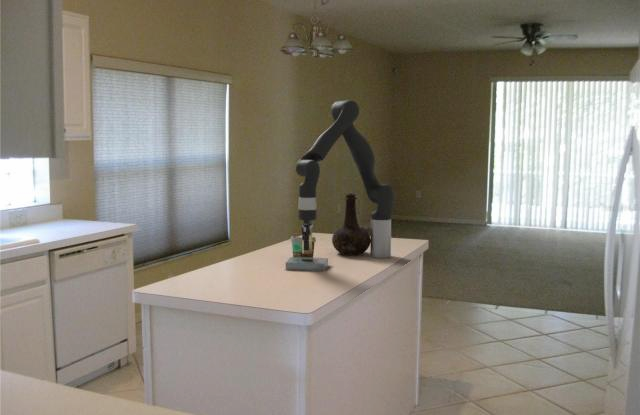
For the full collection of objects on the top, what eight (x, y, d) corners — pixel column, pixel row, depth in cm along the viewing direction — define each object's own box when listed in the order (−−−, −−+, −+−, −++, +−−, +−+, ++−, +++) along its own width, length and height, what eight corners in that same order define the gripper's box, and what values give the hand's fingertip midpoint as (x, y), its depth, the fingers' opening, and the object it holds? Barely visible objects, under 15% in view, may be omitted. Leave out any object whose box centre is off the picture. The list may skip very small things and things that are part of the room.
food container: (285, 258, 285) (285, 236, 284) (292, 256, 291) (292, 234, 289) (309, 261, 279) (309, 238, 278) (315, 259, 285) (316, 236, 284)
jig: (328, 265, 271) (328, 258, 271) (324, 270, 259) (324, 263, 259) (291, 263, 273) (291, 257, 273) (285, 269, 262) (285, 262, 261)
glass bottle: (376, 255, 294) (377, 195, 291) (341, 258, 287) (341, 196, 284) (360, 249, 310) (360, 192, 307) (326, 251, 304) (326, 193, 301)
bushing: (312, 252, 267) (312, 233, 267) (311, 254, 264) (311, 235, 263) (303, 252, 268) (303, 233, 267) (301, 253, 264) (301, 234, 263)
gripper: (313, 210, 256) (313, 252, 258) (318, 206, 270) (318, 246, 272) (295, 209, 257) (295, 251, 259) (301, 206, 271) (301, 246, 273)
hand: (307, 248), depth 266 cm, fingers closed on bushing, 4 cm apart
